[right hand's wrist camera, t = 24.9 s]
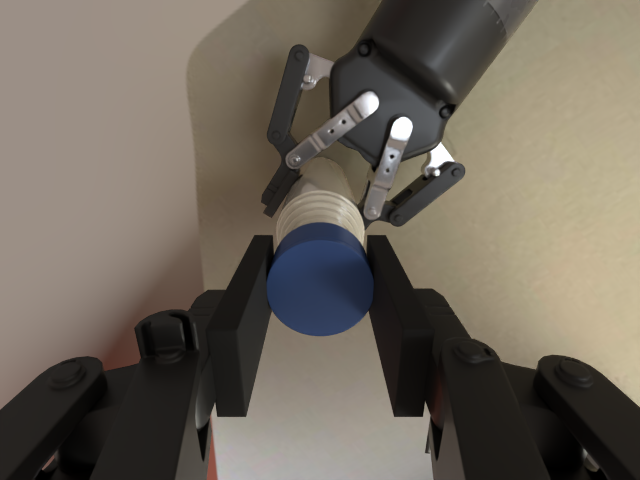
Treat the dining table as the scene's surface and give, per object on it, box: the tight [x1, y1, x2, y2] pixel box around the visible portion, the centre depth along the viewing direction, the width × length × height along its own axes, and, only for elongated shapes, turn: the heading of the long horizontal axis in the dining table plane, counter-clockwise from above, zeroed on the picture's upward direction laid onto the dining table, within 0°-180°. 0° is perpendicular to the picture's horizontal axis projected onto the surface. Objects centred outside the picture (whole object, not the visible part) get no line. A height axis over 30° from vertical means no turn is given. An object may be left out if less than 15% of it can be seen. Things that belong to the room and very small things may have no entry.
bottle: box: [276, 158, 365, 246], centre depth 22 cm, size 5×5×18 cm
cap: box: [266, 222, 374, 336], centre depth 14 cm, size 4×4×2 cm
